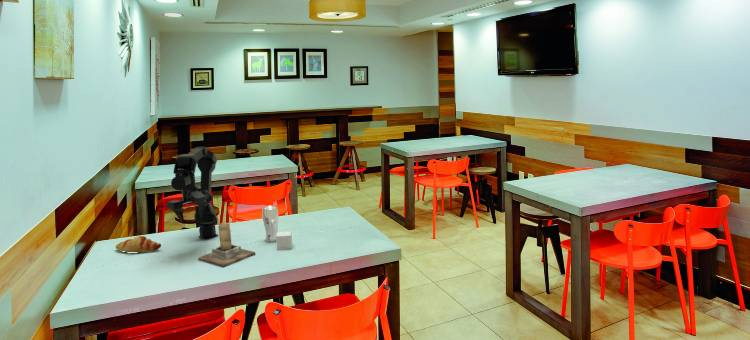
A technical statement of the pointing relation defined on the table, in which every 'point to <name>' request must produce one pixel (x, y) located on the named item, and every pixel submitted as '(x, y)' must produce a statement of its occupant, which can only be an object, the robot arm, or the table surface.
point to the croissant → (138, 245)
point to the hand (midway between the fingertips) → (192, 220)
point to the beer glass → (270, 222)
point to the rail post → (225, 236)
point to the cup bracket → (226, 256)
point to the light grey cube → (284, 240)
